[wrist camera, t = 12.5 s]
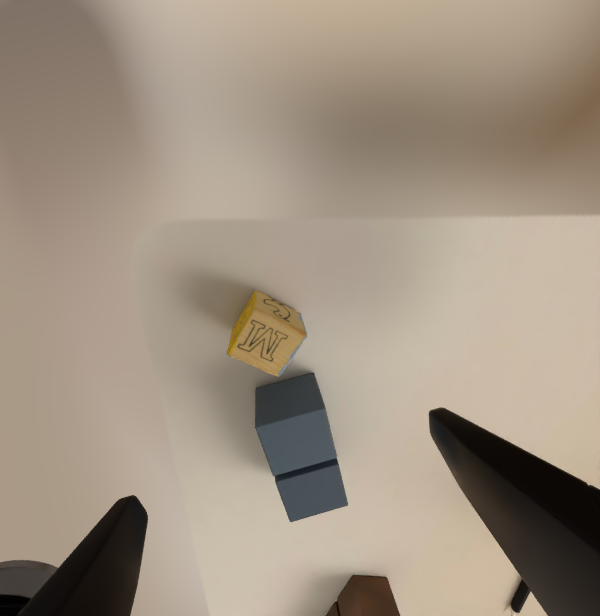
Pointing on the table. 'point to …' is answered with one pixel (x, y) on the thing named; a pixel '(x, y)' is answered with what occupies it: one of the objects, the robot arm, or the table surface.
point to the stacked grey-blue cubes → (299, 446)
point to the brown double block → (366, 598)
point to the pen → (520, 598)
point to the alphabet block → (267, 334)
